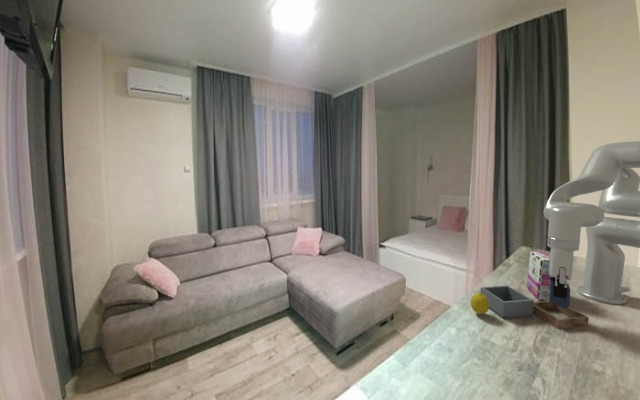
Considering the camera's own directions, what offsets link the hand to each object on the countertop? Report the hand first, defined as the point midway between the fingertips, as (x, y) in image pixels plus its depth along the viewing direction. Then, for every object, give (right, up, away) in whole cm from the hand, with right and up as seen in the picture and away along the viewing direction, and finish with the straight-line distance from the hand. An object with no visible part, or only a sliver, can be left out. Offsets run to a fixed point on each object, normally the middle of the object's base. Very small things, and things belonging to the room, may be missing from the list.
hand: (559, 293), depth 83 cm
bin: (-13, -8, +7) cm, 17 cm away
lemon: (-25, -9, +4) cm, 27 cm away
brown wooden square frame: (0, -8, +1) cm, 8 cm away
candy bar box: (+7, -6, +16) cm, 18 cm away
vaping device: (0, -4, +1) cm, 4 cm away
